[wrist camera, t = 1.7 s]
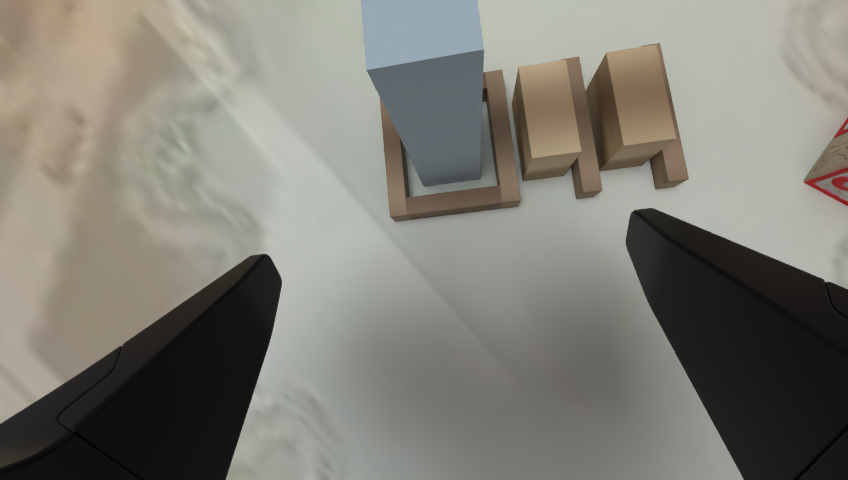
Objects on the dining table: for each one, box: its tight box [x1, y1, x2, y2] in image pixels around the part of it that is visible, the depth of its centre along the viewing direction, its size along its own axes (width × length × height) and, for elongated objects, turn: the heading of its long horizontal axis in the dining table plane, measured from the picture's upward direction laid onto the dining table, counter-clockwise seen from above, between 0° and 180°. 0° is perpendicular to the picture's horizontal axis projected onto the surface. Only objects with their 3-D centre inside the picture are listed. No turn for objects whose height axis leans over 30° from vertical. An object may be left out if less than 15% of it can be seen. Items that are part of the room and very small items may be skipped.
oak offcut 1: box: [512, 60, 581, 181], centre depth 21 cm, size 5×2×4 cm, turn 6°
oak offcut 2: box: [585, 45, 676, 171], centre depth 21 cm, size 5×2×4 cm, turn 6°
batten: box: [361, 0, 484, 186], centre depth 18 cm, size 4×4×12 cm
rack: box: [380, 43, 689, 221], centre depth 22 cm, size 8×16×2 cm, turn 96°
